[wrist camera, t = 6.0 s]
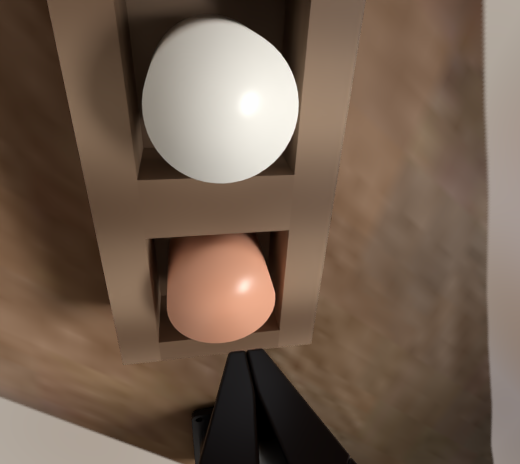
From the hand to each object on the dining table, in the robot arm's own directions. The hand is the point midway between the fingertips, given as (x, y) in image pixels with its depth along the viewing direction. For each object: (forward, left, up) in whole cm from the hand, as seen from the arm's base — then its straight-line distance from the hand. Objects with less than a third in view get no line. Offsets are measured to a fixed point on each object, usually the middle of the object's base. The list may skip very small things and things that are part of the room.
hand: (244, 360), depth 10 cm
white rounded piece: (+5, 0, -9) cm, 10 cm away
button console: (+1, 0, -11) cm, 11 cm away
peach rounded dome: (-3, 0, -9) cm, 10 cm away
